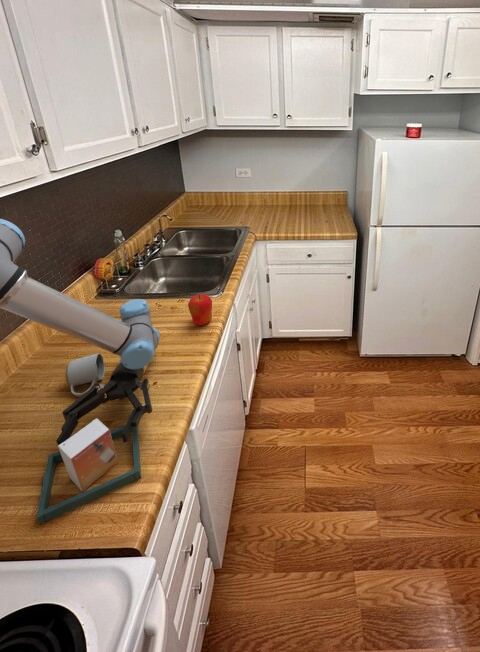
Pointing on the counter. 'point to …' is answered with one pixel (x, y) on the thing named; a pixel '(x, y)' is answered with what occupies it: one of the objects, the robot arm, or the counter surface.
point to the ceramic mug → (85, 371)
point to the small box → (88, 454)
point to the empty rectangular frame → (89, 495)
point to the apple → (200, 309)
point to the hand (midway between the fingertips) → (91, 441)
